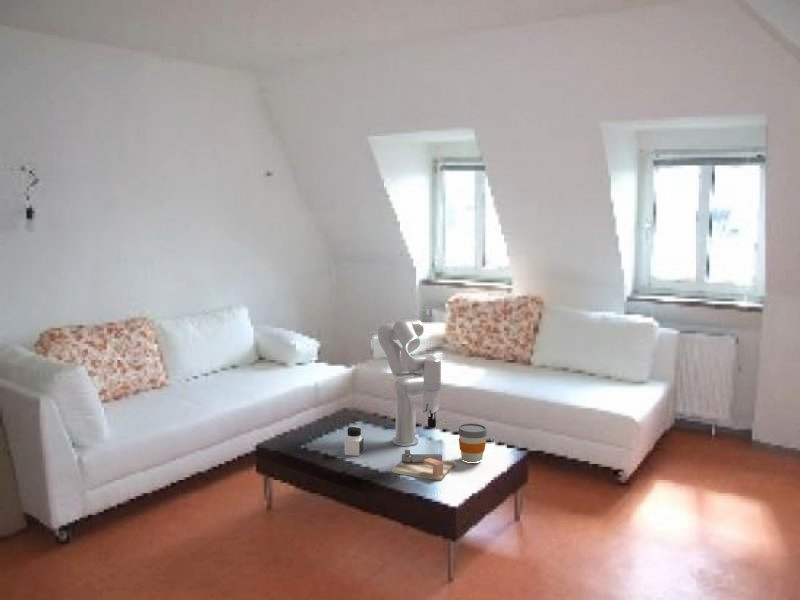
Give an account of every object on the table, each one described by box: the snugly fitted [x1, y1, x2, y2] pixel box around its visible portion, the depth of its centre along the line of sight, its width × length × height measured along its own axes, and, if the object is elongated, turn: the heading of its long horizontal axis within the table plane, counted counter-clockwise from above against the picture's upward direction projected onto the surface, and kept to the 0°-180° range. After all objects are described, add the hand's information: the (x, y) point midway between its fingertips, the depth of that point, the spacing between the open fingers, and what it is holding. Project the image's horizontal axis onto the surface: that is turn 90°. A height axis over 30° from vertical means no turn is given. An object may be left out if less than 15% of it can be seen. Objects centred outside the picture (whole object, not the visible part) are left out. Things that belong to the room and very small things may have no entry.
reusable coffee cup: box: [457, 422, 488, 462], centre depth 291 cm, size 13×13×15 cm
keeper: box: [424, 458, 443, 477], centre depth 273 cm, size 8×4×5 cm, turn 43°
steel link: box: [401, 453, 443, 463], centre depth 285 cm, size 18×5×2 cm, turn 93°
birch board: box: [391, 449, 456, 482], centre depth 281 cm, size 18×22×7 cm
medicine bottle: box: [344, 425, 365, 457], centre depth 299 cm, size 7×7×12 cm
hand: (431, 427), depth 289 cm, fingers closed
